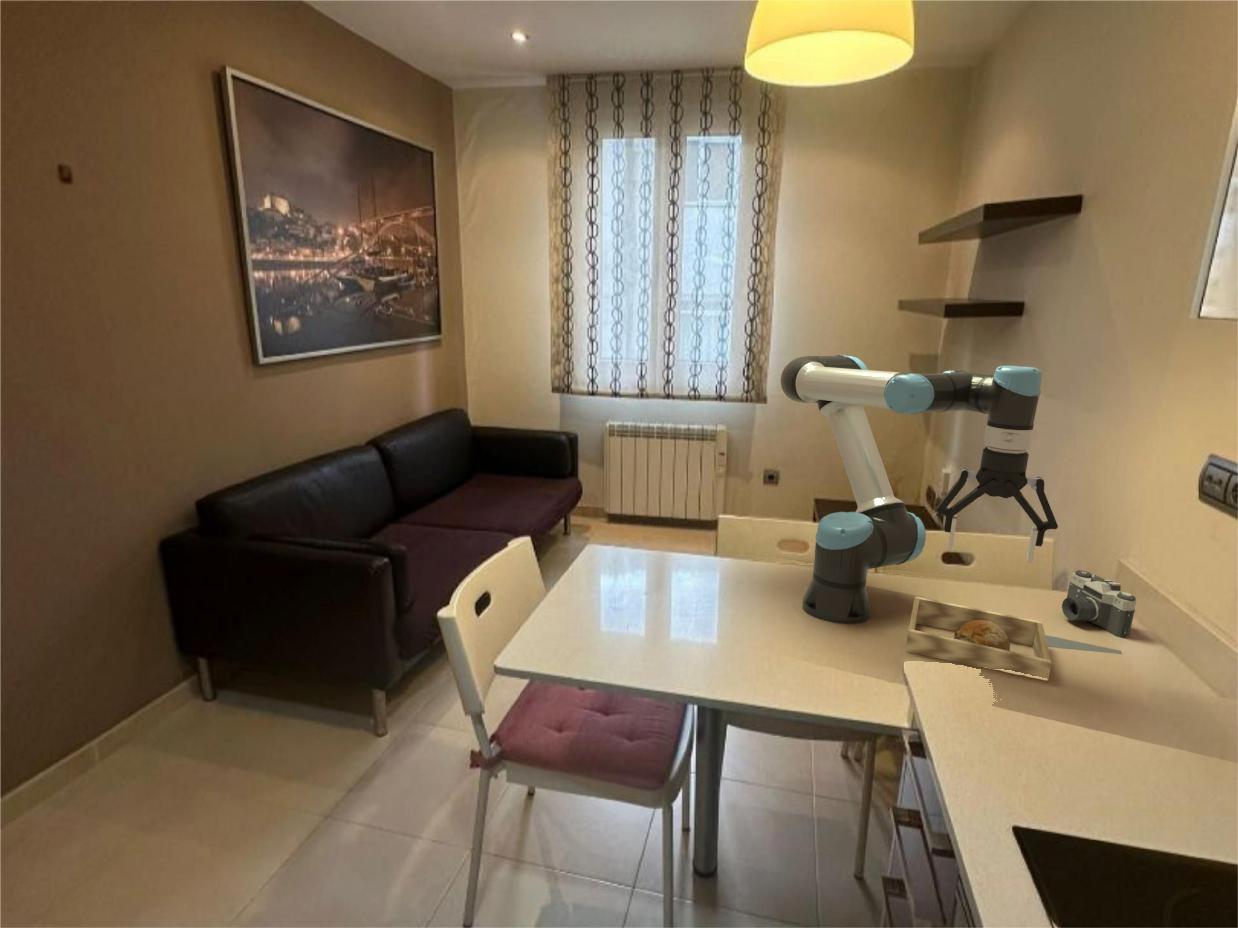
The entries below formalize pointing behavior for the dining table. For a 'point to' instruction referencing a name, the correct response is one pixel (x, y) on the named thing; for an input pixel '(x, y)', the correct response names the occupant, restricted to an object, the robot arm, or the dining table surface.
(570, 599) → the dining table surface
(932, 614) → the crate
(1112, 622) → the camera
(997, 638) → the bread roll
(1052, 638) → the mat
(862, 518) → the robot arm
